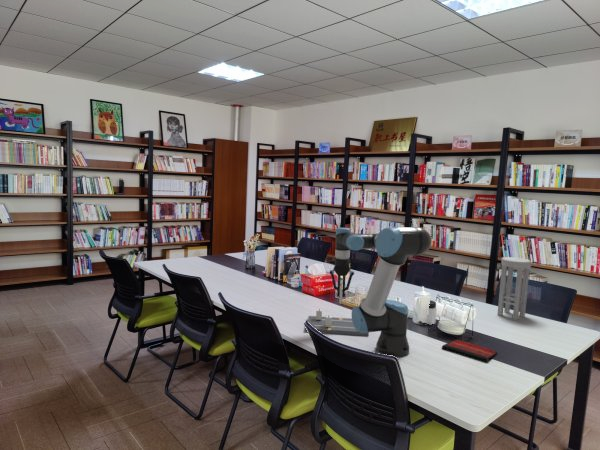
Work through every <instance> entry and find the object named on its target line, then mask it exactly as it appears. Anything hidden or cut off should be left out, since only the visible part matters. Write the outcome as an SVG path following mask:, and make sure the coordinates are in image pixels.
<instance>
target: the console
mask: <svg viewBox="0 0 600 450" xmlns="http://www.w3.org/2000/svg"><path fill="white" fill-rule="evenodd" d="M307 322H309V323H310V324H311V325H312V326H313V327H314V328H316V329H317V330H318V331H320V332H322V333H321V334H329V335H330V334H331V335H347V336H359V337H360V336H361V337H369V335H370V334H369V333H370V332H368V333H360V332H358V331H357V330H356V329H355V327H354V325H353V322H352V318H347V317H340V316H339V317H335V316H334V317H333V316H332V321H331V327H325V325H326V316H322V320H316V315H315V316H314V315H308V317H307V321H306V323H307ZM305 333H308V332H307V330H306V329H305Z"/></svg>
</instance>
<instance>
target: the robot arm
mask: <svg viewBox="0 0 600 450" xmlns="http://www.w3.org/2000/svg"><path fill="white" fill-rule="evenodd" d="M335 229H336V230H335V250H334V251H335V252H334V253H335V254H334V256H335V258H334V267H333V269H330V270H329V274H330V276H331V280H332V284H333V289H334V290H336V295H337V297H338V298H339V299H338V300H339V301H338V304H339V305H341V304H343V298H345V295H346V294H345V293H346V291H348V290H349V289H350V285H351V282H352V278H353V276H354V275H355V271H353V270H352V269H351V268H350V255H351V250H352V251H360V250H372V249H373V250H376V253H377V256H378V258H379V260H378V263H377V266H376V268H375V272H374V274H373V277H372V279H371V282H370V285H369V289H368V290H367V294H366V296H365V298H362V299H361V301H360V302H359V305H358V306H354V307H353V308H352V309H351V319H352V322H353V325H354V327H355V329H356V330H357V331H358V332H360V333H368V332H369V333H374V332H375V333H376V332H380V334H379V336H378V339H377V341H376V346H375V347H376V348H375V350H376V351H377V352H378V353H380V354H382V355H384V354H387V355H393V356H396V357H395V358H397V357H399V358H400V357H405V356H408V355H409V354H410V344H409V341H408V338H407V331H408V317H409V307H408V306H407V304H405V303H404V302H400V301H397V300H395V299H393V300H392V299H388V297H389V294H390V292H391V289H392V287H393V284H394V282H395V279H396V276H397V274H398V271H399V269H400V267H401V266H403V265H405V263H406V262H407V260H408V257H412V256H421V255H424V254H425V253H427V252H428V251H429V250H430V249H431V246H432V236H431V234H430V233H429V232H428V231H427V230H426V229H425V228H422V227H418V226H415V227H414V226H413V227H411V226H409V227H408V226H407V227H406V226H404V227H403V226H402V227H397V226H391V227H385V228H383V229H381V230H380V231H379V232H378V233H352V230H351V228H349V227H337V228H335ZM335 274H336V276H337V283H336V278H335ZM347 275H349V276H348V279H347V283H346V276H347ZM341 277H342V289H341ZM387 355H386V356H387ZM393 356H392V357H393Z"/></svg>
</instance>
